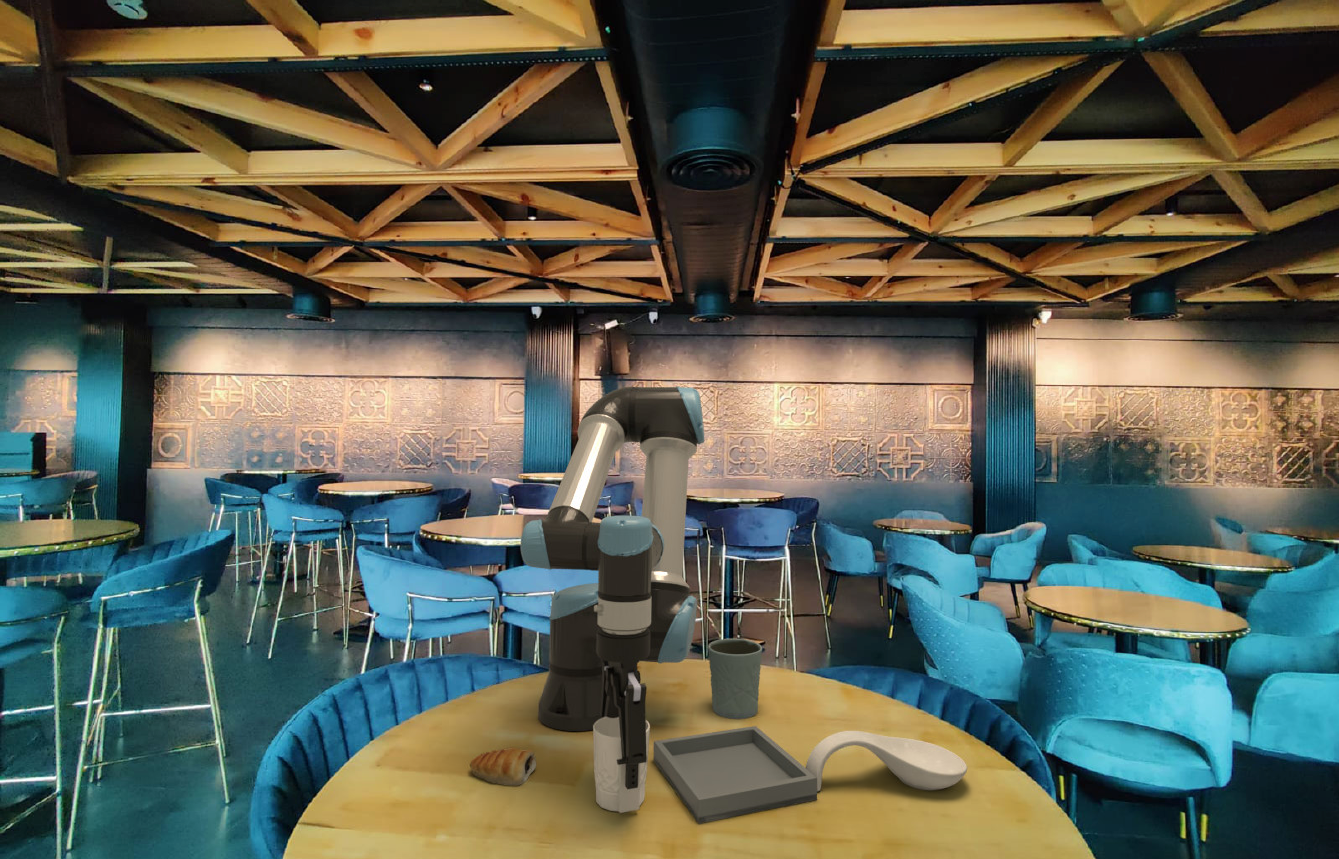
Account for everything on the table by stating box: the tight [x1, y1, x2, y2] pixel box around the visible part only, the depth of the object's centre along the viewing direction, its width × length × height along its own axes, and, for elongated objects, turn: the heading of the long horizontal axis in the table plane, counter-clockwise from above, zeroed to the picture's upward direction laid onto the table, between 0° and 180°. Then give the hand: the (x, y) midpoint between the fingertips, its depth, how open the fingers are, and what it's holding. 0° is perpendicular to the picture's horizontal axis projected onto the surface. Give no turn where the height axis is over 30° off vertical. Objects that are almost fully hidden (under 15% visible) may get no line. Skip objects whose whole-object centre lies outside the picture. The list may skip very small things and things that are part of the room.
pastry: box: [469, 746, 537, 787], centre depth 94 cm, size 9×7×4 cm
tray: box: [653, 725, 818, 824], centre depth 94 cm, size 18×18×3 cm
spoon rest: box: [805, 730, 968, 792], centre depth 94 cm, size 24×12×7 cm, turn 98°
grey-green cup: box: [707, 638, 763, 720], centre depth 120 cm, size 10×10×12 cm
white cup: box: [592, 716, 651, 812], centre depth 88 cm, size 8×8×10 cm
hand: (620, 793), depth 88 cm, fingers closed on white cup, 7 cm apart
